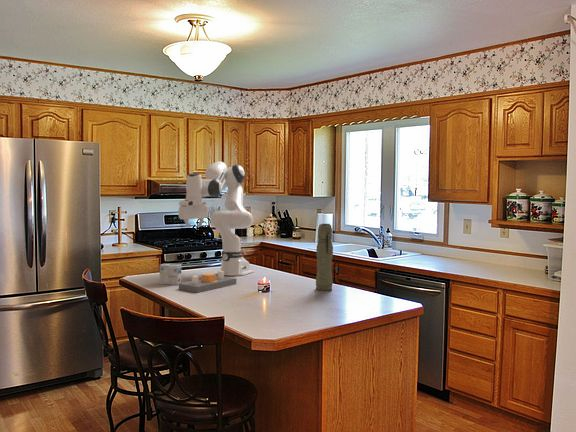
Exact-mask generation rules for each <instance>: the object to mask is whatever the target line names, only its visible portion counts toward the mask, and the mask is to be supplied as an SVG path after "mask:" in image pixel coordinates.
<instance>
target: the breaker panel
mask: <svg viewBox="0 0 576 432" xmlns="http://www.w3.org/2000/svg"><path fill="white" fill-rule="evenodd" d="M232 285H233V286H234V285H237V278H234V277H231V276H230V277H229V276H224V279H218V275H216V281H211V282H204V281H201V279H200V278H198V284H192V280H190V281H185V282H181V283H179V284H178V290H180V291H181V290H182V291H186V292H191V293H203V292H206V291H211V290H216V289H220V288H221V289H222V288H225V287H229V286H232Z"/></svg>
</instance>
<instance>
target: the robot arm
mask: <svg viewBox="0 0 576 432" xmlns="http://www.w3.org/2000/svg"><path fill="white" fill-rule="evenodd" d="M204 176H205V178H204V179H203V178H202V175H201V173H198V172H194V173H193V172H192V173H189V174H187V175H186V181H185V190H186V191H185V192H186V195H185V198H184V199H182V200H181V201H179V202H178V205H179V208H178V218H179V220H183V222H184V223H185V228H190V227H191V224H190V223H189V220H195V219H197V220H198V219H199V222H198V223H197V225H198V227H203V222H204V219H207V218H209V207H208V203H207V202H206V201H203V197H213V198H217V197H219V196H220V195H221V194H222V192H223V189H225V188H227V192H226V195H225V202H224V206H225V210H217V211H213V212H212V214H211V216H210V224H211V225H212V227H213V228H215V229H216V230H217V231H218V233H219V234H220V237H221V242H222V250H221V257H222V258H221V262H220V270H219V271H224V276H228V277H229V276H230V277H231V276H246V275H249V274H252V273H254V271H255V270H254V269H251V265H250V262H249V261H248V260H247V259H245V257H244V256H243V255H245V254H246V251H243V250H241V247H242V244H241V241H242V239H241V238H240V237H239V236H238V235H237V234H235V233H233V232H232V229H236V230H237V229H238V230H239V229H241V230H242V229H247V228H250V227H251V226H252V225H253V223H254V217H253V214H252V213H251V212H249V211H248V210H247V209H245V207H244V189H243V186H242V185H241V184H243V183H244V181H245V180H244V179H245V176H246V172H245V169H244V168H243V166H242V165H240V164H234V165H232V166H229V167H228V166H227V164H226V163H225V162H223V161H220V160H219V161H215V162H212V163H211V164H210V165H209V166H207V168H206V169H205V172H204Z"/></svg>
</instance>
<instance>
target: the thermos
mask: <svg viewBox="0 0 576 432" xmlns="http://www.w3.org/2000/svg"><path fill="white" fill-rule="evenodd" d="M332 239H333V228H332V224H330V223H320V224H319V225H318V228H317V244H316V248H315V249H316V251H315V252H316V276H315V290H316V291H320V292H329V291H332V290H333V277H334V276H333V273H332V271H333V264H332V263H333V257H334V251H333V250H334V245H333V242H332Z"/></svg>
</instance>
